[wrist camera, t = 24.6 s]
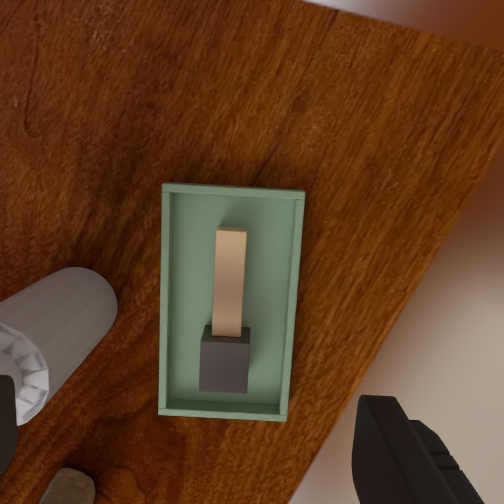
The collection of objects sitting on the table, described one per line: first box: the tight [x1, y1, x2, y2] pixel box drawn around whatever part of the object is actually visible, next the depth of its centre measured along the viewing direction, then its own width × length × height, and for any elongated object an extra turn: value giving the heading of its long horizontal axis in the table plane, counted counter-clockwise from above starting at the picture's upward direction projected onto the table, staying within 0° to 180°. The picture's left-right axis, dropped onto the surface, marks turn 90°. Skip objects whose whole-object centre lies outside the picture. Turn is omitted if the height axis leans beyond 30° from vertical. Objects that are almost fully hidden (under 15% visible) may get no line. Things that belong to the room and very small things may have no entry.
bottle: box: [0, 267, 117, 426], centre depth 27 cm, size 6×6×16 cm
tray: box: [159, 182, 305, 421], centre depth 34 cm, size 18×10×2 cm, turn 177°
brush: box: [199, 226, 250, 394], centre depth 32 cm, size 12×4×3 cm, turn 177°
